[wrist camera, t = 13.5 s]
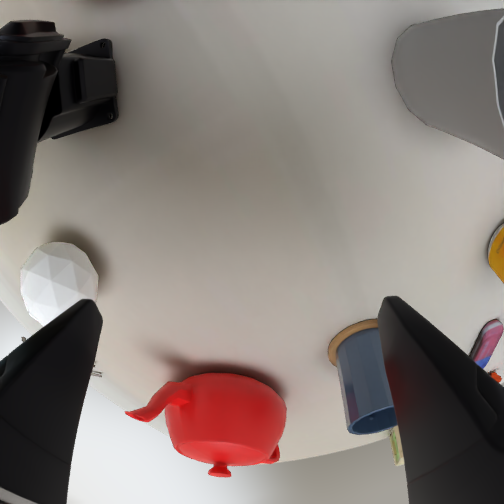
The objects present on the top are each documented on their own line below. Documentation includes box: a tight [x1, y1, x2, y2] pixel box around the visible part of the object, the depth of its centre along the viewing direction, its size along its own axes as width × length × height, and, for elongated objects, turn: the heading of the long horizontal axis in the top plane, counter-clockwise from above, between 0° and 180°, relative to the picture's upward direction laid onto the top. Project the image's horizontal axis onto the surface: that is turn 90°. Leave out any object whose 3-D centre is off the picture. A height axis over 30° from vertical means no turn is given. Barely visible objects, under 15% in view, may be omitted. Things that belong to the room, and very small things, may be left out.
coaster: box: [328, 319, 378, 367], centre depth 28 cm, size 8×8×1 cm
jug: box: [335, 328, 398, 435], centre depth 25 cm, size 9×7×9 cm
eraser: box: [470, 319, 504, 369], centre depth 29 cm, size 11×4×2 cm, turn 15°
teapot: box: [125, 373, 287, 477], centre depth 29 cm, size 25×16×12 cm, turn 38°
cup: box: [392, 9, 504, 159], centre depth 9 cm, size 8×8×10 cm
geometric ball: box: [20, 242, 99, 326], centre depth 20 cm, size 8×8×8 cm
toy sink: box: [390, 425, 404, 466], centre depth 42 cm, size 8×7×13 cm
